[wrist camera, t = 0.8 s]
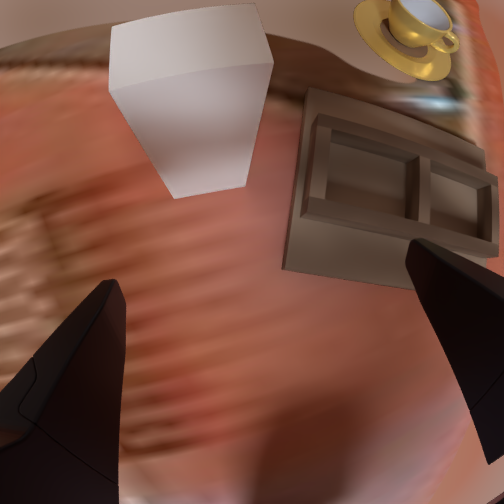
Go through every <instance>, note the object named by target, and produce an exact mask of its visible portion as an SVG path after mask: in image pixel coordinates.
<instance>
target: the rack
mask: <svg viewBox="0 0 504 504" xmlns="http://www.w3.org/2000/svg"><path fill="white" fill-rule="evenodd" d="M417 238H424V239H426V240H428V241H430V242H433V243H435V244H437V245H439V246H441V247H443V248H445V249H448V250H450V251H452V252H454V253H456V254H458V255H460V256H462V257H464V258H466V259H468V260H471V261H473V262H475V263H477V264H479V265H481V266H483V267H485V268H486V260H487V258H493V257H498V254H499V194H498V178H497V176H495V175H493V174H490V173H488V172H486V164H485V153H484V150H483V149H481V148H479V147H477V146H475V145H473V144H471V143H469V142H467V141H465V140H462V139H460V138H458V137H456V136H454V135H451V134H449V133H447V132H445V131H442V130H440V129H437V128H435V127H433V126H430V125H428V124H425V123H423V122H420V121H418V120H415V119H413V118H410V117H407V116H405V115H402V114H399V113H396V112H393V111H391V110H388V109H385V108H382V107H379V106H376V105H373V104H370V103H366V102H363V101H360V100H357V99H353V98H350V97H346V96H343V95H339V94H336V93H332V92H328V91H324V90H320V89H316V88H312V87H308V89H307V91H306V94H305V101H304V109H303V118H302V126H301V134H300V142H299V150H298V158H297V165H296V173H295V180H294V188H293V195H292V202H291V209H290V216H289V223H288V230H287V237H286V243H285V250H284V257H283V263H282V270H288V271H294V272H300V273H306V274H313V275H319V276H325V277H332V278H338V279H344V280H351V281H357V282H363V283H370V284H376V285H383V286H389V287H396V288H403V289H409V290H415V288H414V285H413V283H412V281H411V278H410V276H409V274H408V271H407V269H406V266H405V258H406V254H407V250H408V246H409V243H410V241H411V240H412V239H417Z"/></svg>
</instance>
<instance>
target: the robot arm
mask: <svg viewBox="0 0 504 504" xmlns="http://www.w3.org/2000/svg"><path fill="white" fill-rule="evenodd" d="M405 266H406V269H407V271H408V274H409V276H410V278H411V281H412V283H413V285H414V288H415V290H416V293H417V295H418V298H419V300H420V302H421V305H422V307H423V309H424V311H425V313H426V315H427V317H428V319H429V321H430V323H431V325H432V327H433V329H434V331H435V333H436V335H437V337H438V339H439V341H440V343H441V345H442V347H443V350H444V352H445V354H446V356H447V358H448V361H449V363H450V365H451V367H452V370H453V372H454V374H455V376H456V379H457V381H458V384H459V386H460V388H461V391H462V393H463V396H464V398H465V401H466V403H467V406H468V408H469V410H470V414H471V417H472V420H473V422H474V425H475V428H476V430H477V433H478V436H479V439H480V442H481V445H482V448H483V451H484V455H485V458H486V461H487V463H488V465H490V464H491V463H493V462H494V461H496V460H497V459H499V458H500V457H501V456H503V455H504V277H502V276H500V275H498V274H496V273H494V272H492V271H490V270H489V269H487V268H485V267H483V266H481V265H479V264H477V263H475V262H473V261H471V260H468V259H466V258H464V257H462V256H460V255H458V254H456V253H454V252H452V251H450V250H448V249H445V248H443V247H441V246H439V245H437V244H435V243H433V242H430V241H428V240H426V239H424V238H417V239H412V240H411V241H410V243H409V246H408V250H407V254H406V258H405ZM125 353H126V302H125V299H124V296H123V294H122V291H121V289H120V286H119V283H118V282H117V280H115V279H109V280H103V281H102V282H101V283H100V284H99V285H98V286H97V287H96V288H95V289H94V290H93V291H92V292H91V293H90V294H89V295H88V296H87V297H86V298H85V299H84V300H83V301H82V302H81V303H80V304H79V305H78V306H77V307H76V308H75V310H74V311H73V312H72V313H71V314H70V315H69V316H68V317H67V318H66V319H65V320H64V321H63V322H62V323H61V325H60V326H59V327H58V328H57V329H56V330H55V331H54V332H53V333H52V334H51V336H50V337H49V338H48V339H47V340H46V341H45V342H44V343H43V345H42V346H41V347H40V348H39V349H38V350H37V351H36V352H35V354H34V355H33V357H31V358H30V359H29V361H28V362H27V363H26V364H25V365H24V366H23V368H22V369H21V370H20V371H19V372H18V373H17V374H16V376H15V377H14V378H13V379H12V380H11V381H10V382H9V383H8V384H7V385H6V386H5V387H4V389H3V390H2V391H1V392H0V504H119V486H118V462H119V430H120V411H121V397H122V385H123V374H124V364H125ZM487 504H504V492H503V493H502V494H500V495H499V496H497V497H496V498H494V499H493V500H491V501H490V502H488V503H487Z"/></svg>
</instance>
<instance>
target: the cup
mask: <svg viewBox="0 0 504 504" xmlns="http://www.w3.org/2000/svg"><path fill="white" fill-rule="evenodd" d="M353 18H354V23H355V26H356V28H357V30H358V32H359V34H360V35H361V37H362V38H363V40H364V41H365V42H366V43H367V45H368V46H369V47H370V48H371V49H372V50H373V51H374V52H375V53H376V54H377V55H379V56H380V57H381V58H382V59H383V60H385V61H386V62H387V63H389V64H390V65H392V66H393V67H395V68H396V69H398V70H400V71H402V72H404V73H406V74H408V75H410V76H412V77H415V78H418V79H422V80H427V81H437V80H441V79H443V78H445V77H446V76H447V75H448V73H449V72H450V68H451V59H450V55H449V53H454V52H455V51H457V50H458V48H459V45H460V41H459V39H458V38H457V36H456V35H455V34H454V33H452V32H451V30H452V21H451V19H450V17H449V15H448V14H447V12H446V11H445V10H444V9H443V7H442V6H441V5H440V4H438V3H437V2H436V1H435V0H392V1H391V2H390V1H386V0H366V1H363V2H361V3H359V4H358V5H357V6H356V8H355V10H354V15H353ZM385 20H389V29H390V32H391V34H392V35H393V37H394V38H395V39H396V40H397V41H399V42H400V43H401V44H403V45H405V46H407V47H411V48H418V47H423V46H428V53H427V55H426V56H425V57H422V58H414V57H410V56H408V55H405V54H403V53H402V52H400V51H398V50H397V49H396V48H394V47H393V46H392V45H391V44H390V43H389V42H388V41H387V40H386V39H385V37H384V36H383V34H382V32H381V29H380V23H381V22H382V21H385ZM443 37H447V38H449V39H450V40H451V41H452V42H453V44H452V45H450V46H446V45H445V43H444V41H443V40H442V38H443Z"/></svg>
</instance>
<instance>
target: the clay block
mask: <svg viewBox="0 0 504 504" xmlns="http://www.w3.org/2000/svg"><path fill="white" fill-rule="evenodd" d="M273 65H274V61H273V57H272V54H271V51H270V47H269V44H268V41H267V38H266V35H265V32H264V29H263V26H262V23H261V20H260V17H259V14H258V11H257V8H256V5H255V3H249V4H234V5H223V6H215V7H214V6H213V7H205V8H198V9H191V10H185V11H179V12H173V13H167V14H162V15H158V16H153V17H148V18H144V19H140V20H135V21H131V22H128V23H124V24H120V25H116V26H113V27H112V32H111V46H110V65H109V92H110V94H111V96H112V97H113V99H114V101H115V102H116V104H117V106H118V107H119V109H120V111H121V113H122V114H123V116H124V118H125V119H126V121H127V123H128V124H129V126H130V128H131V129H132V131H133V133H134V134H135V136H136V138H137V139H138V141H139V143H140V144H141V146H142V147H143V149H144V151H145V152H146V154H147V156H148V157H149V159H150V161H151V162H152V164H153V165H154V167H155V169H156V170H157V172H158V174H159V175H160V177H161V178H162V180H163V182H164V183H165V185H166V186H167V188H168V190H169V191H170V193H171V194H172V196H173V197H174V199H177V198H182V197H188V196H193V195H198V194H204V193H209V192H215V191H221V190H226V189H232V188H238V187H244V186H245V185H246V180H247V176H248V171H249V167H250V162H251V158H252V154H253V149H254V145H255V141H256V136H257V132H258V128H259V123H260V119H261V115H262V111H263V107H264V102H265V98H266V94H267V90H268V86H269V82H270V77H271V73H272V69H273Z"/></svg>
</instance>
